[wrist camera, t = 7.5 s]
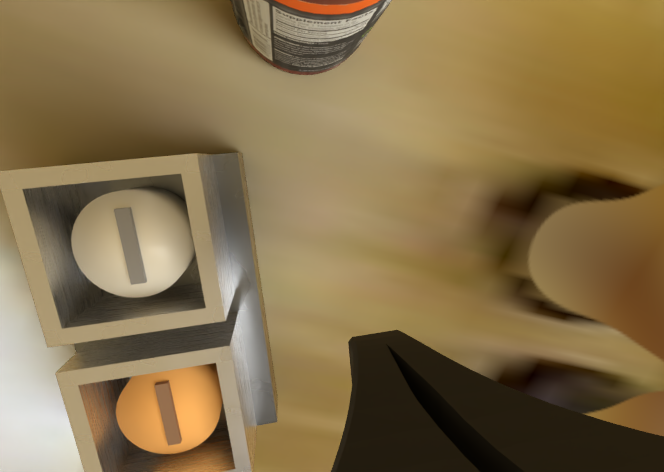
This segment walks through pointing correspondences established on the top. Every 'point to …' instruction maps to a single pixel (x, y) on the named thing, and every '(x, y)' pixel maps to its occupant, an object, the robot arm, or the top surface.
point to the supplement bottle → (306, 30)
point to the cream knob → (134, 241)
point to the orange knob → (170, 408)
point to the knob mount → (150, 306)
